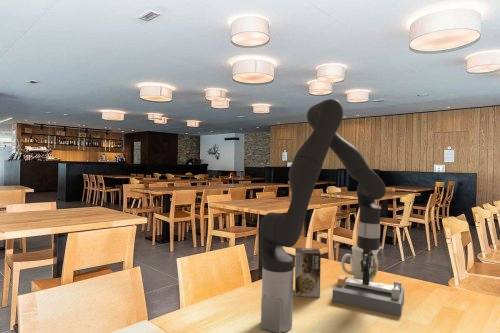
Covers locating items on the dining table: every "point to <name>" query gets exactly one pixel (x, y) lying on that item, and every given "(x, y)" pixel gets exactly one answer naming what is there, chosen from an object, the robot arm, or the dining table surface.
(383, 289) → the metal hinged lever
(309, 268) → the coffee box
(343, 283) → the block
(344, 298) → the block
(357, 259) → the pitcher
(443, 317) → the dining table surface
